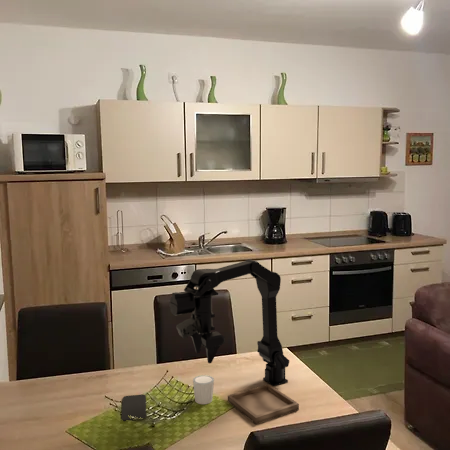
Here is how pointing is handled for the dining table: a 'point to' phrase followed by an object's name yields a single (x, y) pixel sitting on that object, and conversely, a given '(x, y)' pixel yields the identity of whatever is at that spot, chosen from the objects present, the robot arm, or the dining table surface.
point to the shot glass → (203, 389)
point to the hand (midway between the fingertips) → (203, 357)
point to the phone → (133, 407)
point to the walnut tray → (262, 403)
